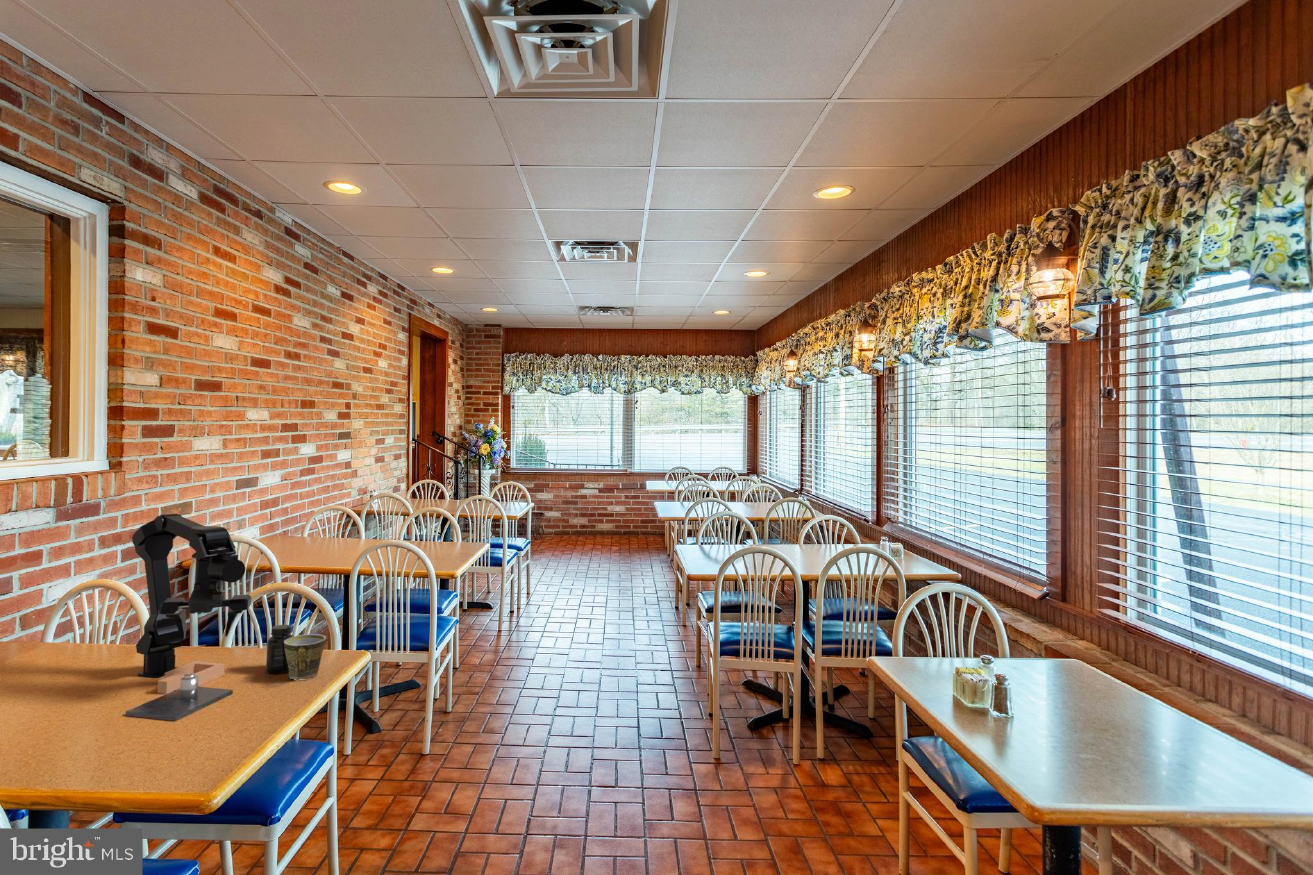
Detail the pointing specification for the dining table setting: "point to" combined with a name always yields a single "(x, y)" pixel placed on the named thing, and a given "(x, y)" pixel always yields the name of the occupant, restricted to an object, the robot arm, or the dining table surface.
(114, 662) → the dining table surface
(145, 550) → the robot arm
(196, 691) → the base with metal peg
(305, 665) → the ceramic cup
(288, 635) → the supplement bottle
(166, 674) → the square ring with tab
